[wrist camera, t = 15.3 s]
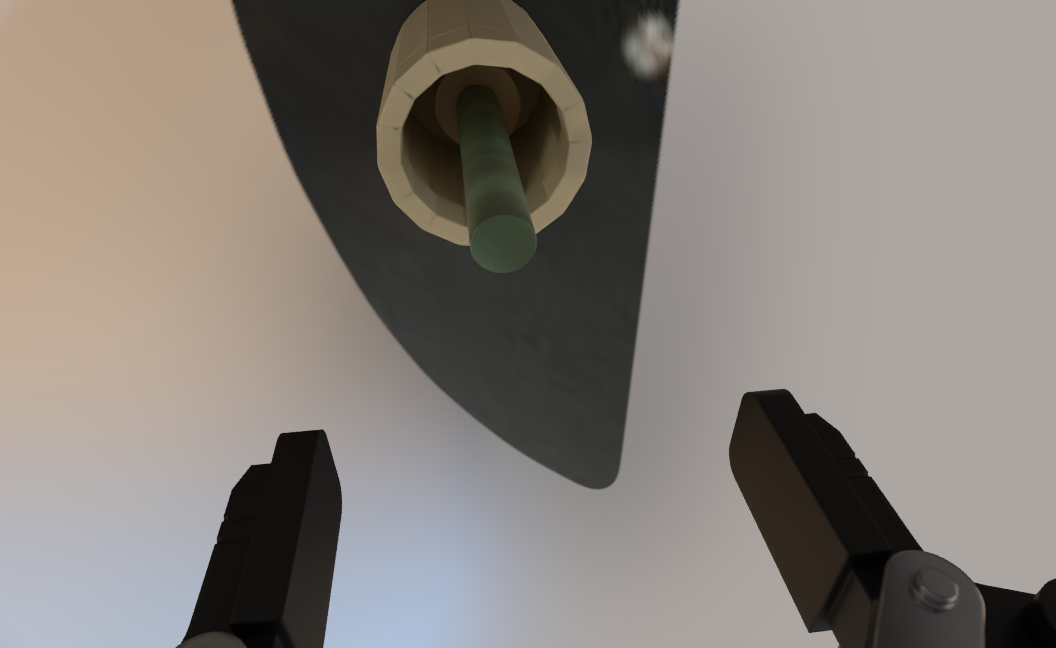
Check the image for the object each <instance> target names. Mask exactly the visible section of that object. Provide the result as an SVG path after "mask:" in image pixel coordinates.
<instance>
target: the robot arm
mask: <svg viewBox="0 0 1056 648" xmlns="http://www.w3.org/2000/svg"><path fill="white" fill-rule="evenodd" d="M729 458H730V465H731V469H732V472H733V475H734V477H735V480H736V482H737V484H738V486H739V488H740V490H741V492H742V494H743V496H744V498H745V500H746V503H747V505H748V507H749V509H750V511H751V513H752V515H753V517H754V519H755V521H756V523H757V526H758V528H759V530H760V532H761V534H762V536H763V538H764V540H765V542H766V544H767V546H768V548H769V551H770V552H771V555H772V557H773V559H774V561H775V563H776V565H777V567H778V569H779V571H780V573H781V576H782V578H783V580H784V582H785V584H786V586H787V588H788V590H789V592H790V594H791V596H792V598H793V600H794V603H795V604H796V607H797V609H798V611H799V613H800V615H801V617H802V619H803V621H804V623H805V626H806V628H807V629H808V632H809V633H812V632H820V631H828V630H832V631H833V633H834V635H835V637H836V639H837V641H838V642H839V647H838V648H1056V579H1053V580H1051V581H1049V582H1047V583H1046V584H1045V585H1044V586H1043V587H1042V588H1041V590H1040V591H1039V592H1038V593H1037V594H1030V593H1025V592H1019V591H1014V590H1009V589H1003V588H998V587H992V586H987V585H982V584H978V583H974V582H973V581H972V580H971V579H970V578H969V577H968V576H967V575H966V574H965V573H964V572H963V571H962V570H961V569H960V568H958V567H957V566H955V565H954V564H953V563H951V562H949V561H948V560H946V559H944V558H942V557H939V556H937V555H935V554H932V553H929V552H924V551H923V549H922V548H921V547H920V546H919V544H918V543H917V542H916V540H915V539H914V537H913V536H912V534H911V533H910V532H909V530H908V529H907V527H906V526H905V524H904V523H903V522H902V520H901V519H900V517H899V516H898V514H897V513H896V511H895V510H894V509H893V507H892V506H891V505H890V503H889V501H888V500H887V499H886V497H885V496H884V494H883V493H882V492H881V490H880V489H879V487H878V486H877V484H876V483H875V481H874V480H873V479H872V477H869V476H868V471H867V470H866V469H865V467H864V466H863V464H862V463H861V461H860V460H859V459H858V458H857V459H856V457H855V453H854V451H853V450H852V449H851V447H850V446H849V444H848V443H847V441H846V440H845V439H844V437H843V436H842V434H841V433H840V432H839V431H838V430H837V429H836V428H834V427H833V426H832V425H831V424H829V423H828V422H827V421H825V420H824V419H823V418H822V417H820V416H819V415H818V414H816V413H811V414H804V412H803V410H802V409H801V407H800V406H799V404H798V403H797V402H796V400H795V398H794V397H793V396H792V394H791V393H790V392H789V391H788V390H786V389H777V390H767V391H755V392H747V393H745V394H744V395H743V397H742V400H741V405H740V408H739V411H738V416H737V419H736V423H735V427H734V431H733V434H732V438H731V442H730V446H729ZM341 513H342V495H341V486H340V481H339V477H338V474H337V470H336V467H335V464H334V460H333V456H332V453H331V450H330V446H329V442H328V439H327V436H326V433H325V432H324V430H312V431H302V432H290V433H281V434H280V435H279V437H278V439H277V443H276V447H275V450H274V454H273V458H272V462H271V463H270V464H260V465H251V467H250V468H249V469H248V470H247V471H246V473H245V474H244V475H243V476H242V478H241V479H240V480H239V482H238V483H237V484H236V485H235V487H234V488H233V489H232V491H231V495H230V498H229V502H228V504H227V508H226V511H225V514H224V522H222V524H221V526H220V530H219V533H218V536H217V544H215V546H214V549H213V552H212V555H211V559H210V561H209V565H208V568H207V571H206V574H205V578H204V581H203V584H202V587H201V590H200V593H199V597H198V600H197V603H196V606H195V609H194V612H193V616H192V619H191V622H190V625H189V628H188V630H187V633H186V635H185V637H184V639H183V641H182V642H181V644H180V645H178V646H177V647H176V648H323V645H324V638H325V631H326V623H327V616H328V609H329V601H330V594H331V587H332V580H333V573H334V565H335V558H336V551H337V543H338V536H339V529H340V522H341Z"/></svg>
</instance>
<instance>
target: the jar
mask: <svg viewBox="0 0 1056 648" xmlns="http://www.w3.org/2000/svg"><path fill="white" fill-rule="evenodd" d="M472 65H485V66H496V67H507V68H510V69H511V72H512V74H513V77H514V80H515V82H516V85H517V88H518V91H519V94H520V99H521V111H520V116H519V119H518V122H517V124H516V126H515V128H514V129H513V131H512V132H511V133H510V134H509V135H508V136H509V139H510V143H511V147H512V150H513V154H514V158H515V161H516V165H517V168H518V172H519V176H520V179H521V183H522V187H523V190H524V194H525V197H526V201H527V205H528V208H529V212H530V216H531V219H532V223H533V226H534V230H535V234H536V233H538V232H539V231H540V230H542V229H543V228H544V227H546V226H547V225H548V224H550V223H551V222H552V221H554V220H555V219H556V218H557V217H559V216H560V215H561V214H563V213H564V211H565V210H566V209H567V207H568V205H569V204H570V202H571V201H572V199H573V197H574V196H575V194H576V193H577V191H578V189H579V188H580V186H581V185H582V183H583V181H584V179H585V177H586V171H587V166H588V160H589V155H590V149H591V144H592V140H591V139H592V136H591V132H590V127H589V123H588V118H587V114H586V109H585V105H584V101H583V99H582V97H581V95H580V93H579V92H578V90H577V89H576V87H575V85H574V84H573V82H572V81H571V79H570V77H569V76H568V74H567V73H566V71H565V69H564V68H563V66H562V65H561V63H560V61H559V60H558V58H557V57H556V55H555V53H554V52H553V50H552V49H551V47H550V45H549V44H548V42H547V41H546V39H545V37H544V36H543V34H542V33H541V32H540V30H539V29H538V27H537V26H536V25H535V23H534V22H533V20H532V19H531V18H530V16H529V15H528V14H527V12H526V11H525V10H524V9H523V8H521V7H520V6H518V5H517V4H516V3H514V2H513V1H512V0H426V1H425V2H423V3H422V4H421V5H420V6H419V7H417V8H416V9H415V10H414V11H413V13H412V14H411V15H410V16H409V17H408V19H407V20H406V21H405V22H404V23H403V26H402V28H401V30H400V32H399V34H398V36H397V39H396V42H395V45H394V47H393V50H392V52H391V57H390V62H389V66H388V71H387V76H386V81H385V86H384V91H383V96H382V101H381V106H380V111H379V116H378V121H377V164H378V168H379V170H380V172H381V175H382V177H383V179H384V181H385V183H386V186H387V188H388V190H389V192H390V195H391V197H392V199H393V201H394V202H395V204H396V205H397V206H398V207H399V208H400V209H401V210H402V211H403V212H405V213H406V214H407V215H408V216H409V217H410V218H411V219H412V220H413V221H414V222H415V223H416V224H417V225H418V226H419V227H420V228H421V229H424V230H425V231H427V232H429V233H432V234H434V235H437V236H439V237H441V238H444V239H446V240H448V241H451V242H453V243H456V244H459V245H469V246H470V243H469V233H468V223H467V213H466V202H465V192H464V182H463V172H462V162H461V152H460V144H458V143H456V142H455V141H453V140H452V139H451V138H449V137H448V136H447V135H446V134H445V133H444V131H443V130H442V129H441V127H440V125H439V123H438V121H437V118H436V115H435V110H434V82H435V81H436V80H437V79H438V78H439V77H440V76H442V75H444V74H447V73H450V72H453V71H456V70H459V69H462V68H466V67H469V66H472Z"/></svg>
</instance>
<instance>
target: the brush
mask: <svg viewBox="0 0 1056 648" xmlns="http://www.w3.org/2000/svg"><path fill="white" fill-rule="evenodd" d="M434 110H435V115H436V118H437V121H438V123H439V125H440V127H441V129H442V130H443V131H444V133H445V134H446V135H447V136H448V137H449V138H451V139H452V140H453V141H455V142H456V143H458V144H460V152H461V162H462V172H463V182H464V192H465V202H466V213H467V223H468V233H469V243H470V251H471V254H472V256H473V258H474V259H475V261H476V262H477V263H478V264H479V265H480V266H481V267H483V268H485V269H487V270H489V271H492V272H496V273H508V272H512V271H515V270H518V269H520V268H521V267H523V266H524V265H526V264H527V263H528V262H529V261H530V259H531V258H532V256H533V255H534V253H535V250H536V246H537V238H536V234H535V230H534V226H533V223H532V219H531V216H530V212H529V208H528V205H527V201H526V197H525V194H524V190H523V187H522V183H521V179H520V176H519V172H518V168H517V165H516V161H515V158H514V154H513V150H512V147H511V143H510V139H509V136H508V135H509V134H510V133H511V132H512V131H513V129H514V128H515V126H516V124H517V122H518V119H519V116H520V111H521V99H520V94H519V91H518V88H517V85H516V82H515V80H514V77H513V74H512V72H511V69H510V68H507V67H496V66H485V65H472V66H469V67H466V68H462V69H459V70H456V71H453V72H450V73H447V74H444V75H442V76H440V77H439V78H438V79H437V80H436V81H435V82H434Z"/></svg>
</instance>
